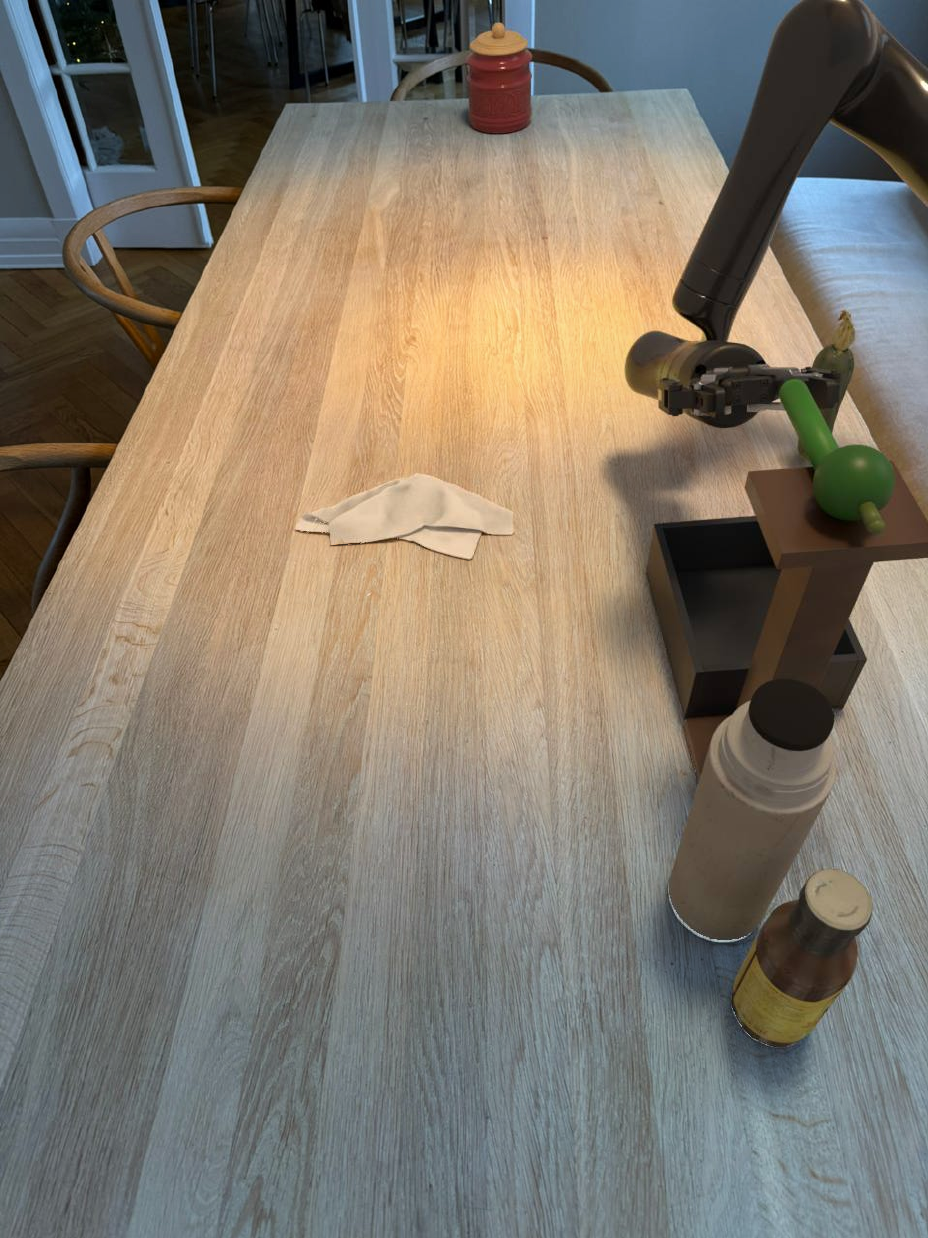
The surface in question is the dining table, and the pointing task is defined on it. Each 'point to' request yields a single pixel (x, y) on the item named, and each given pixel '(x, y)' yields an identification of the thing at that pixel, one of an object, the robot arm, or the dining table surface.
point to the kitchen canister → (499, 81)
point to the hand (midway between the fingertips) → (775, 399)
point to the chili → (839, 464)
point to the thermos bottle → (753, 808)
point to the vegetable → (836, 367)
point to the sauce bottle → (801, 959)
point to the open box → (724, 612)
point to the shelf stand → (812, 579)
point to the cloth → (414, 516)
